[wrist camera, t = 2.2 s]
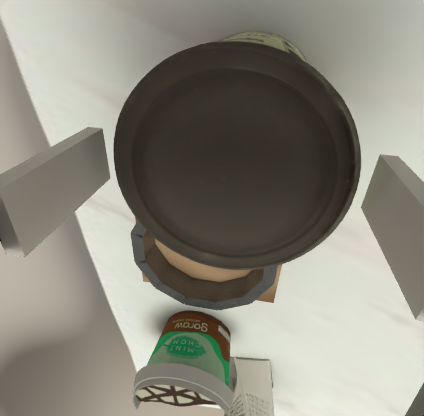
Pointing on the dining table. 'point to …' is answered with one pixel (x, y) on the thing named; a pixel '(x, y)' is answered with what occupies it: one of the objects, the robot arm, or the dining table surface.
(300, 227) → the coffee can
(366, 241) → the dining table surface
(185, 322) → the food container
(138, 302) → the dining table surface
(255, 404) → the skyscraper
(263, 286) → the collar
